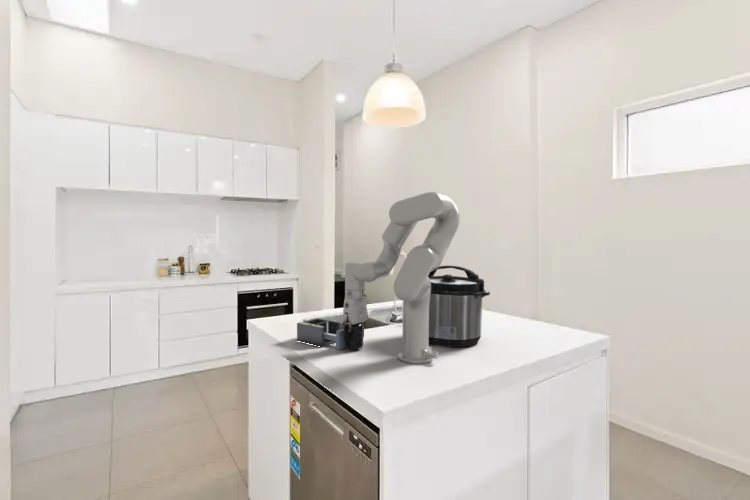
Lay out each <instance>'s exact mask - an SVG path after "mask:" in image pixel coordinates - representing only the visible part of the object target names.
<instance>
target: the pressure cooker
mask: <svg viewBox="0 0 750 500" xmlns="http://www.w3.org/2000/svg"><path fill="white" fill-rule="evenodd" d="M441 269H442V270H443V269H454V270H459V271H462V272H464V273H465V274H466V277H465V276H459V275H452V274H444V275H435V274H436V272H437V271H438V270H441ZM428 277H429V279H430V282H431V294H430V304H429V344H432V345H435V346H437V345H438V346H441V347H451V348H452V347H453V348H454V347H469V346H472V345H473V346H474V345H475V344H477V343H478V342H479V341H480V339H481V338H482V337H481V336H482V321H483V320H482V317H483V315H482V313H483V298H485V297H487V296H490V295H491V291H489V290H485V280H484V279H483V278H480V277H479V274H477V273H476V272H475V271H473V270H470V269H468V268H465V267H462V266H457V265H440V266H439V267H438V268H437V269H436V270H434V271H431V272H430V273H429V275H428Z"/></svg>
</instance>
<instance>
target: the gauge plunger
mask: <svg viewBox="0 0 750 500" xmlns="http://www.w3.org/2000/svg"><path fill="white" fill-rule="evenodd" d="M323 323H326V333H325V339H328V340H333V341H336V343H335V347H336V349H335V350H339V351H340V350H343V349H345V348H347V347H346V341H345V331H344V329H343V328H342V329H341V330H338V331H336V335H335V334H330V333H328V321H325V322H321V323H317V324H315V326H316V325H320V324H323Z"/></svg>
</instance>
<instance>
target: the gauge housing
mask: <svg viewBox="0 0 750 500" xmlns="http://www.w3.org/2000/svg"><path fill="white" fill-rule="evenodd" d="M325 321H328V333H330V334H335V335H336V331H338V330H341V329H343V327H342V325H341V324H340V322H341V321H338V320H337V321H336V320H331V319H323V318H320V317H316V318H311V319H307V320H304V321H303V320H302V321H299V322H297V323H296V342H297V341H301V342H305V343H309V344H313V345H316V346H320V347H323V348H325V347H324V346H326V347H328V346H327V345H329V346H331V345H330V344H332V345H334V344H333V343H335V344H336V341H333V340H328V339H325V333H326V323H323V324H320V325H316V326H315V324H317V323H321V322H325ZM316 346H315V347H316ZM320 347H319V348H320Z"/></svg>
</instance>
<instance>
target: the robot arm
mask: <svg viewBox="0 0 750 500" xmlns="http://www.w3.org/2000/svg"><path fill="white" fill-rule="evenodd" d="M459 211H460V210H459V209H458V206H457V204H456V203H455V202H454V201H453V199H452V198H450V197H449V196H447V195H446V194H442V193H440V192H435V191H429V192H424V193H421V194H418V195H414V196H411V197H408V198H404V199H401V200H398V201H396V202H394V203H392V205H391V207H390V208H389V212H388V216H389V219H390V222H389V223H388V225H387V227H386V228H385V229H384V231H383V233H382V235H381V239H382V241H383V242H382V243H383V248H382V250H381V252H380V254H379V255H378V257H377V259H376V260H375V261H371V262H362V261H348V262H346V263H345V265H344V267H345V268H344V270H345V271H344V272H345V273H344V274H345V275H344V277H345V278H344V280H345V281H344V301H343V309H342V318H341V321H339V322H340V324H341V325H342V329H344V331H345V341H349V342H352V331H351V329H352V326H353V325H355V324H358V323H362V324H363V338H364V337H365V328H366V323H367V320H368V317H369V315H368V307H367V299H366V296H365V291H366V290H365V288H366V287H365V283H375V282H378V281H383V280H384V279H386V278H387V277H388V276H389V275H390V273H391V272H392V270H393V268H394V267H395V266H396V264H397V262H398V260H399V257H400V255H401V251H402V248H403V246H404V245H405V243H406V241H407V239H408V238H409V237H410V235H411V233H412V232H413V230H414V228H416V225H417V224H418V223H419V222H420V221H425V220H429V219H434V223H433V224H432V226H431V228H430V229H429V231H428V234H427V235H426V237H425V239H424V241H423V243H422V244H420V245H417V246H414V247H413V248H412V249H411V250H410V251H409V252H408V254H407V255H406V257H405V258H404V261H403V263H402V265H401V267H400V269H399V271H398V273H397V275H396V277H395V280H394V283H393V292H394V294H395V296H396V297H397V299H399V300H400V301H403V303H402V342H401V343H402V345H401V346H402V350H401V352H399V353H398V354H397V359H398V360H399V361H401V362H403V363H408V364H415V365H416V364H419V365H420V364H427V363H431V362H432V361H433V360H434V359H435V360H436V359H437V360H438V358H439V351H435V350H432V346H430V342H429V304H430V294H431V282H430V279H429V277H428V275H429V273H430V272H431V271H434V270H436V269H437V268H438V267H439V266H441V264H442V263H443V259H444V258H445V256H446V254H447V251H448V250H449V248H450V246H451V244H452V241H453V239H454V238H455V236H456V233H457V232H458V228H459V225H460V217H461V216H460V212H459ZM349 322H350V323H349ZM348 325H349V327H348Z"/></svg>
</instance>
